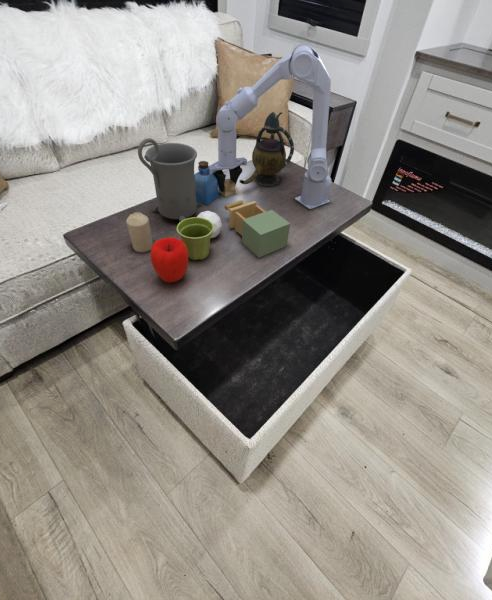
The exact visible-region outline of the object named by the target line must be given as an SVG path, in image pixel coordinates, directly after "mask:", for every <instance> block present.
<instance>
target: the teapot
mask: <svg viewBox="0 0 492 600" xmlns="http://www.w3.org/2000/svg"><path fill="white" fill-rule="evenodd" d="M282 114H284V112H282V111H281V112H279V113H278V114H276V113H275V111H272V112H270V113H269V114H268V116H267V117H266V118H265V121H264V124H263V127H262V128H261V129H260V130H259V131H258V133H257V136H256V139H255V145H254V147H253V150H252V153H251V159H252V160H251V161H252V165H253V166H254V169H255V170H254V172H253V174H251V176H250V177H248V178H247V179H246V180H243V179H240V180H239V183H240V184H241V185H249V184H251V183H253V182H254V181H255V183H257V184H258V185H260V186H261V185H262V186H266V187H273V186H276V185H278V184H279V182H280V178H279V177H278V176H277V174H278V173H280V172H281V171H282V170H283V169H285V167H286V166H287V165H289V163H290V162H291V160H292V158H293V156H294V153H295V144H294V140H293V138H292V136H291V134H290V133H289V132H288V131H287V129H285V128H283V126H280V120H279V117H280V116H281V115H282ZM264 132H266V133H267V134H268V135H269V134H270V138H265V139H262V136H263V133H264ZM275 134H277V137H278V140H279V141H278V140H276V139H275ZM282 134H283V135H284V136H285V137H286V139H287V141H288V143H289V149H290V150H289V154H288V155H287V151H286V148H285V143H284V141H285V140H284V138H283V135H282Z"/></svg>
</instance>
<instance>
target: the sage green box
mask: <svg viewBox="0 0 492 600" xmlns="http://www.w3.org/2000/svg"><path fill="white" fill-rule="evenodd" d="M290 228H291V223H290V222H289V221H287V219H285V218H283V216H281V215H280V214H279V213H278V212H275V210H273V209H270V210H267V211H266V212H264V213H261V214H258V215H256V216H253V217H250V218H247V219H244V220H243V229H242V235H241V244H243V245H244V246H245V247H246V248H247V249H248V250H249V251H250V252H251V253H253V255H255V256H256V257H257V258H258V259H260V258H262V257H264V256H266V255H270V254H271V253H273V252H276V251H278V250H281V249H283V248H286V247H288V240H289V234H290Z"/></svg>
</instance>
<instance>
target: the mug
mask: <svg viewBox="0 0 492 600" xmlns="http://www.w3.org/2000/svg"><path fill="white" fill-rule="evenodd" d="M148 143H149V144H152V145H153V146H151V147H149V148H147V150H146V151H145V155H144V156H143V148H144V147H145V145H146V144H148ZM137 156H138V159H139V161H140V162H141V163H142V164H143V165H144V166H145V167H146V168H147V169H148V171H150V173H151V174H152V177H153V184H154V189H155V195H156V201H157V202H156V203H155V205H154V207H153V209H152V210H151V211H152V213H156V212H157V211H158V213H159V214H160V215H161V216H162V217H165V218H167V219H170V220H178V221H179V223H180V222H181V221H182V220H184V219H187V218H191V217H193V215H194V214H195V213H196V212H197V210H198V206H199V202H198V201H196V190H195V161H196V159H197V157H198V152H197V150H196V149H195V148H194V147H192V146H190V145H188V144H184V143H178V142H165V143H158V142H157V141H156V140H155V139H153V138H151V137H148V138H144V139H143V140H142V141H141V142H140V143H139V145H138V147H137Z"/></svg>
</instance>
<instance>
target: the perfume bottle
mask: <svg viewBox="0 0 492 600" xmlns="http://www.w3.org/2000/svg"><path fill="white" fill-rule="evenodd" d="M197 163H198V166H197V170H198V171H197V172H196V173H194V175H195V190H196V202H197V203H201V204H203V205H205V206H208V205H209V204H211V203H212V202H214V201H216V199H218V198H219V187H218V180H217V178H216V177H215V175H214V174H213V173H212V174H208V171H209V166H210V164H209V162H208V161H207V160H200V161H198V162H197Z"/></svg>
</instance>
